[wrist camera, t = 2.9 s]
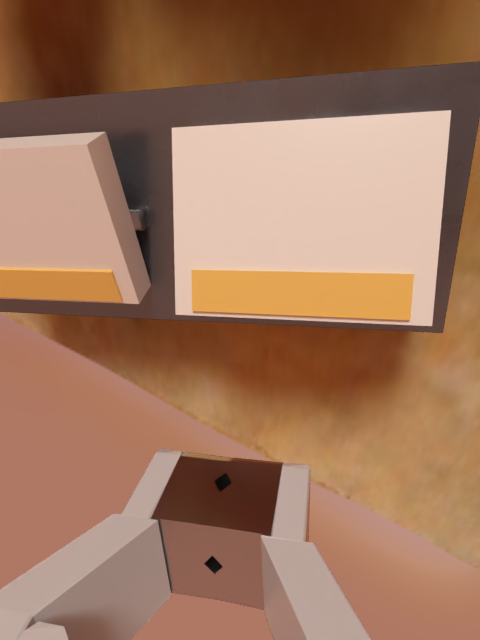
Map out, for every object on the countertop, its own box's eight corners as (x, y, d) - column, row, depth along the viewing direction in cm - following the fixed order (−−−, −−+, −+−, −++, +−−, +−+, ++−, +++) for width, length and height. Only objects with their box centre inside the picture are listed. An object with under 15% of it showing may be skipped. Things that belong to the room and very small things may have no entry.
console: (448, 79, 19) (497, 56, 13) (418, 292, 23) (445, 351, 17) (3, 113, 24) (-110, 109, 18) (47, 281, 28) (-32, 323, 22)
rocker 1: (105, 131, 15) (84, 145, 14) (151, 285, 20) (138, 306, 19) (-95, 144, 18) (-129, 157, 16) (-14, 280, 22) (-36, 298, 21)
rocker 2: (440, 123, 15) (452, 108, 13) (423, 318, 16) (433, 326, 14) (185, 138, 17) (170, 126, 15) (188, 309, 18) (174, 315, 16)
